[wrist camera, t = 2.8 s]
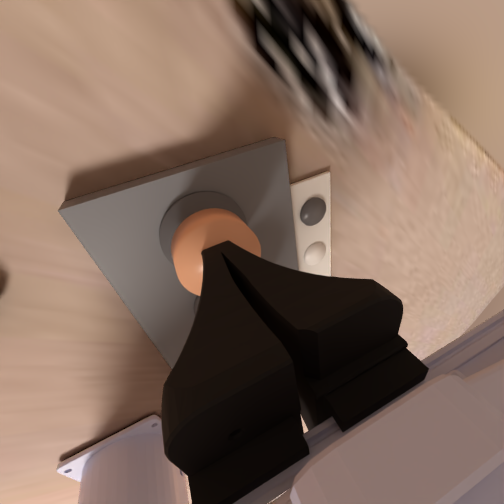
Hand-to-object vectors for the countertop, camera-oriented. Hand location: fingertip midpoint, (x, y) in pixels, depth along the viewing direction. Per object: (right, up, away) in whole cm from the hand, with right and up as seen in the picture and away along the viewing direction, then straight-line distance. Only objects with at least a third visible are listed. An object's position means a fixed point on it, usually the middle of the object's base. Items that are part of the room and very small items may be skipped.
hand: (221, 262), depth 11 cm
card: (+6, +1, +8) cm, 10 cm away
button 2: (-1, +1, +2) cm, 3 cm away
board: (-1, -2, +7) cm, 7 cm away
